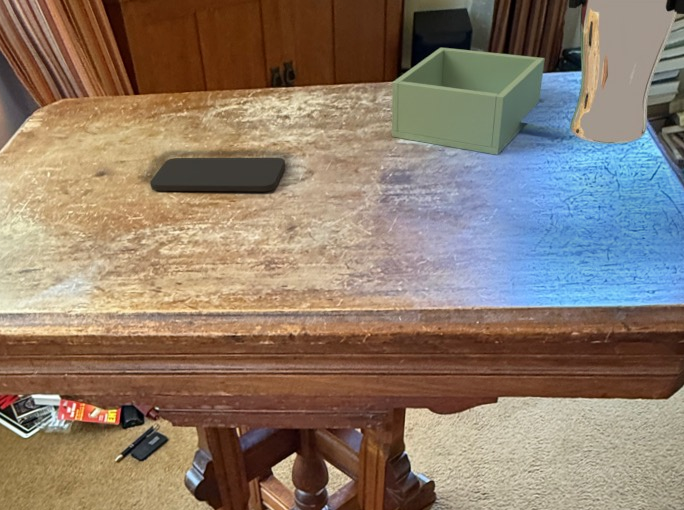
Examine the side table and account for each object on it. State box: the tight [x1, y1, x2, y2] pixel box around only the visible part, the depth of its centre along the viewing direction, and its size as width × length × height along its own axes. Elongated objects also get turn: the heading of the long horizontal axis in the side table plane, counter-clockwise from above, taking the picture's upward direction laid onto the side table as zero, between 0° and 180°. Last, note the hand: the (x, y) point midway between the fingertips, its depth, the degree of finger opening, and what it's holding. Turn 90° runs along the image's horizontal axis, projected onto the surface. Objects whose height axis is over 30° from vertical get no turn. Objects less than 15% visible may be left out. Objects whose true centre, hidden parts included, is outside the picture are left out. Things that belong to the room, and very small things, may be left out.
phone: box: [149, 157, 286, 192], centre depth 84 cm, size 7×1×15 cm
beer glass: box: [569, 0, 678, 145], centre depth 57 cm, size 7×7×15 cm
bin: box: [391, 47, 546, 156], centre depth 88 cm, size 14×14×7 cm
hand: (629, 4), depth 56 cm, fingers closed on beer glass, 7 cm apart
